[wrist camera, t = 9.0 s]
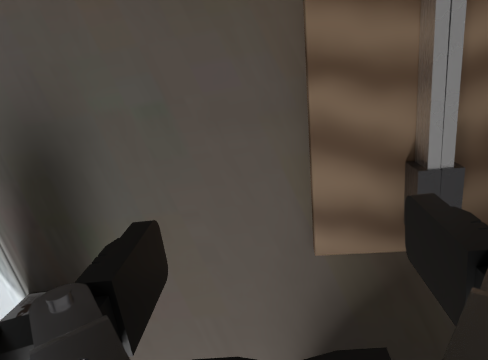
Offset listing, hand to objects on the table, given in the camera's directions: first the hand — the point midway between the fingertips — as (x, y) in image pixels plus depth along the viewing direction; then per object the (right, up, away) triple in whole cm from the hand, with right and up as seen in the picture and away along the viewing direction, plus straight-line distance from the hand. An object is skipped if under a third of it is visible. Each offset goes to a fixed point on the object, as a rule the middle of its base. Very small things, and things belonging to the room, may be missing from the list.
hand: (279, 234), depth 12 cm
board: (+12, +11, +20) cm, 26 cm away
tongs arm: (+13, +10, +19) cm, 25 cm away
